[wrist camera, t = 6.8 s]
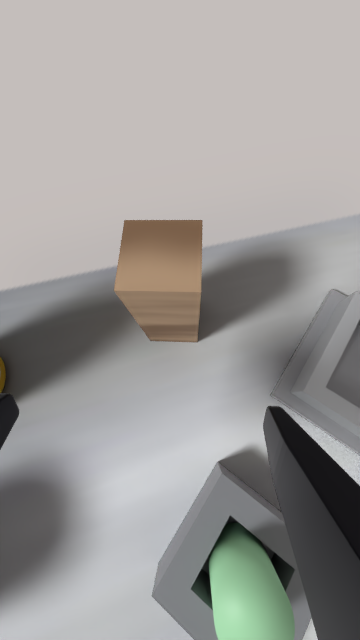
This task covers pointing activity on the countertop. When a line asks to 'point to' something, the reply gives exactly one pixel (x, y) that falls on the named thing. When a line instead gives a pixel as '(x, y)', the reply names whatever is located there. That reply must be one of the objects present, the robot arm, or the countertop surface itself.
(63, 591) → the countertop surface
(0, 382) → the bottle
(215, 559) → the button
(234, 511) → the switch box
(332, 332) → the grey square socket
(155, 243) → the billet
